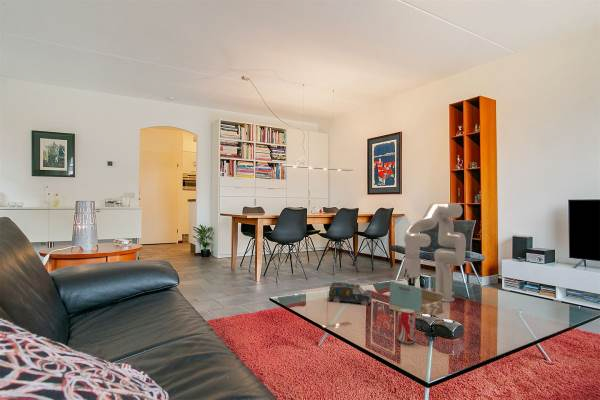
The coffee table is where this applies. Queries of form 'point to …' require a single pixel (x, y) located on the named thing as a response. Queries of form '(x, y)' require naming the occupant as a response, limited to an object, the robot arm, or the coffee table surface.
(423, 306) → the trailer bed
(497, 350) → the coffee table surface
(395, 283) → the panel
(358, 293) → the toy van
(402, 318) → the soda can
